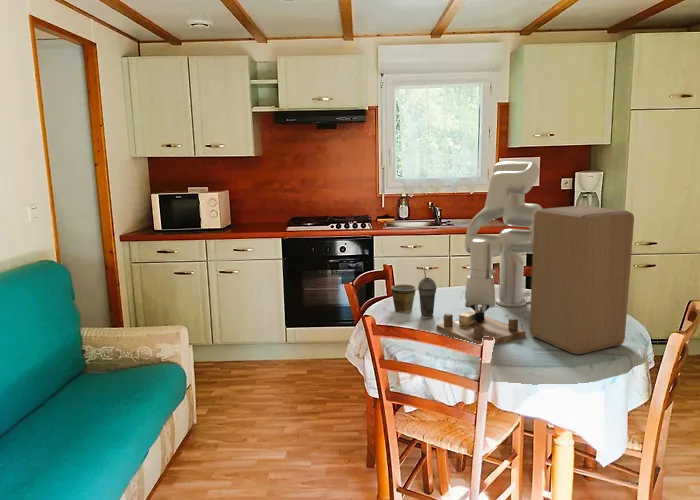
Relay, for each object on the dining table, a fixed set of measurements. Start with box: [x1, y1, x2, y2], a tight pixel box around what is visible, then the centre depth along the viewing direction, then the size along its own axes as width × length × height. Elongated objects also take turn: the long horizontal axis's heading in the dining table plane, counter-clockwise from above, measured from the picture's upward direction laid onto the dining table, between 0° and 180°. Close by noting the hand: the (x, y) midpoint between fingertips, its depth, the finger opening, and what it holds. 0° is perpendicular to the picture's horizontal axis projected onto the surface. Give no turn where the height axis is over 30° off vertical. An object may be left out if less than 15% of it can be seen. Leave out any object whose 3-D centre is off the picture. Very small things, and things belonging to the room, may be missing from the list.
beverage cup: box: [417, 266, 438, 319], centre depth 213 cm, size 7×7×20 cm
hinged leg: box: [458, 309, 480, 326], centre depth 200 cm, size 10×3×3 cm, turn 133°
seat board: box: [435, 305, 527, 345], centre depth 194 cm, size 22×22×6 cm
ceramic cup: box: [390, 284, 417, 314], centre depth 223 cm, size 13×10×10 cm
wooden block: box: [529, 204, 635, 355], centre depth 181 cm, size 22×22×45 cm
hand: (479, 322), depth 197 cm, fingers closed
